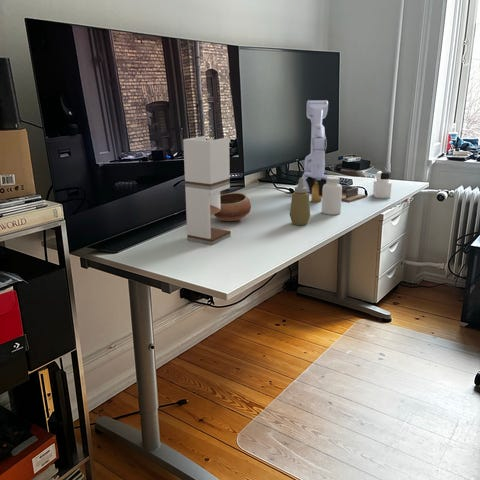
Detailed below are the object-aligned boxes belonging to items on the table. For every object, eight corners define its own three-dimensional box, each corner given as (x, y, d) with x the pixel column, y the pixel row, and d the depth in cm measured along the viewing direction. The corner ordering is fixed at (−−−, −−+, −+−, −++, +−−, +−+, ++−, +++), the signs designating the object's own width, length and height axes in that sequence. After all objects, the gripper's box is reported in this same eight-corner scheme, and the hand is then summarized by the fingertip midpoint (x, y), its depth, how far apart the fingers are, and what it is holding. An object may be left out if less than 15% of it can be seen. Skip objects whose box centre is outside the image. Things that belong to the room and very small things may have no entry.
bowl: (203, 221, 195) (203, 196, 191) (228, 212, 206) (227, 189, 203) (234, 227, 185) (234, 202, 182) (258, 218, 197) (258, 194, 194)
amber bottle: (309, 201, 225) (310, 179, 222) (315, 199, 228) (316, 178, 225) (317, 202, 222) (318, 181, 219) (323, 201, 225) (324, 179, 222)
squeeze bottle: (311, 221, 192) (313, 176, 187) (307, 227, 185) (309, 180, 180) (291, 220, 195) (293, 175, 189) (287, 225, 188) (288, 179, 182)
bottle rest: (321, 196, 233) (321, 187, 232) (338, 192, 243) (338, 183, 241) (349, 202, 222) (350, 192, 221) (366, 197, 232) (366, 187, 230)
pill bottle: (342, 211, 207) (344, 176, 202) (337, 216, 200) (340, 180, 195) (324, 209, 210) (326, 175, 206) (319, 214, 203) (320, 178, 199)
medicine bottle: (387, 194, 237) (389, 170, 233) (390, 198, 230) (392, 172, 226) (372, 194, 237) (374, 170, 234) (375, 197, 231) (377, 172, 227)
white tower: (212, 245, 166) (209, 141, 155) (187, 240, 171) (183, 139, 160) (230, 236, 175) (229, 137, 164) (206, 231, 180) (203, 136, 170)
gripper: (299, 164, 222) (298, 193, 226) (325, 167, 212) (324, 198, 216) (309, 162, 226) (308, 190, 231) (335, 165, 217) (333, 195, 221)
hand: (316, 194), depth 224 cm, fingers closed on amber bottle, 5 cm apart
